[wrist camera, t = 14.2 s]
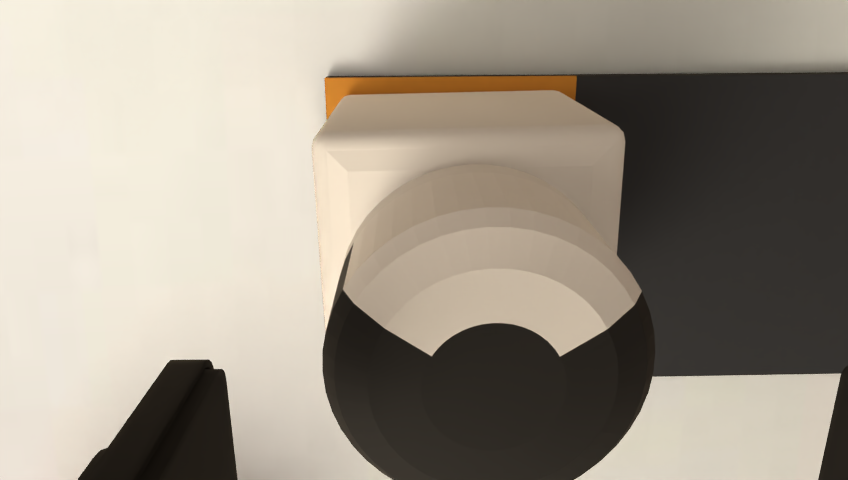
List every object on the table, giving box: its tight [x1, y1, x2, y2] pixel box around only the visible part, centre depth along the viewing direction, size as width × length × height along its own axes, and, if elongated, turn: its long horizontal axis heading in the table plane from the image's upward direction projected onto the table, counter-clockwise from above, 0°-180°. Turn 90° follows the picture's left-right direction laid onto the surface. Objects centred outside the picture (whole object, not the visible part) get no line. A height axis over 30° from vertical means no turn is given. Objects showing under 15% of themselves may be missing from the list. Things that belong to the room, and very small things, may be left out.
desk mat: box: [325, 72, 848, 376], centre depth 24 cm, size 21×11×1 cm, turn 90°
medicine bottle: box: [312, 90, 655, 480], centre depth 17 cm, size 7×7×12 cm
